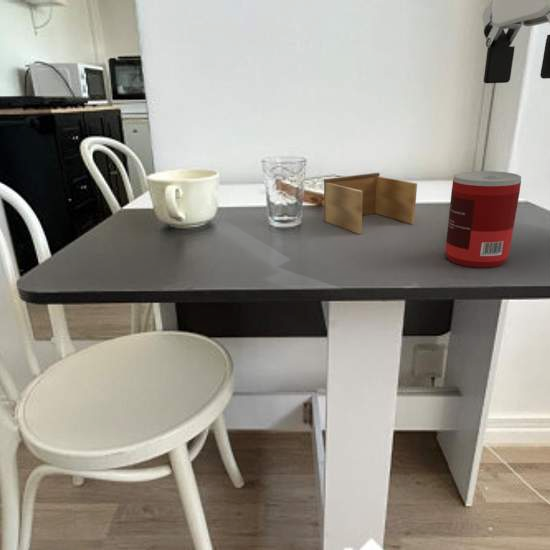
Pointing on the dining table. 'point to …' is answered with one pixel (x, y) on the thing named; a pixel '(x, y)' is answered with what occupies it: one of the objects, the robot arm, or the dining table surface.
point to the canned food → (482, 218)
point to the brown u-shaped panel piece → (367, 199)
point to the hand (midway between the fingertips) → (523, 80)
